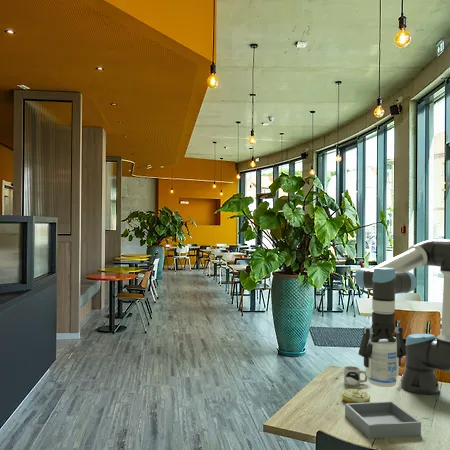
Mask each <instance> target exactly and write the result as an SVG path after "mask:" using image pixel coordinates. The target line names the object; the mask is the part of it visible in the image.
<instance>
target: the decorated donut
mask: <svg viewBox="0 0 450 450" xmlns="http://www.w3.org/2000/svg"><path fill="white" fill-rule="evenodd" d="M341 398H342V399H343V401H344V402H345V403H347V404H349V403H368V402H371V399H370V398H371V395H370V394H369V393H368V392H366V391H364V390H361V389H357V388H348V389H345V390H343V391H342V393H341Z"/></svg>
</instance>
